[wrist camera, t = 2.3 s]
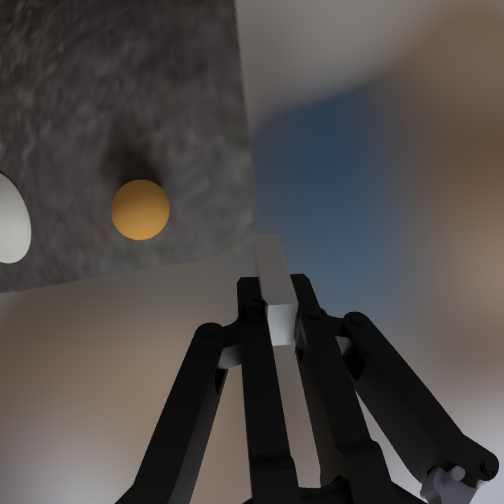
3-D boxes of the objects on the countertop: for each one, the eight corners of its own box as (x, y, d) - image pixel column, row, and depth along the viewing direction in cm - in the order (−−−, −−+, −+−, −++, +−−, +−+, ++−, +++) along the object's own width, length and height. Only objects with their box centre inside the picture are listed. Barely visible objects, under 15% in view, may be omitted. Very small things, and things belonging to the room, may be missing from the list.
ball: (117, 175, 26) (96, 194, 22) (170, 169, 27) (159, 188, 22) (126, 225, 29) (110, 252, 24) (176, 222, 29) (168, 249, 25)
